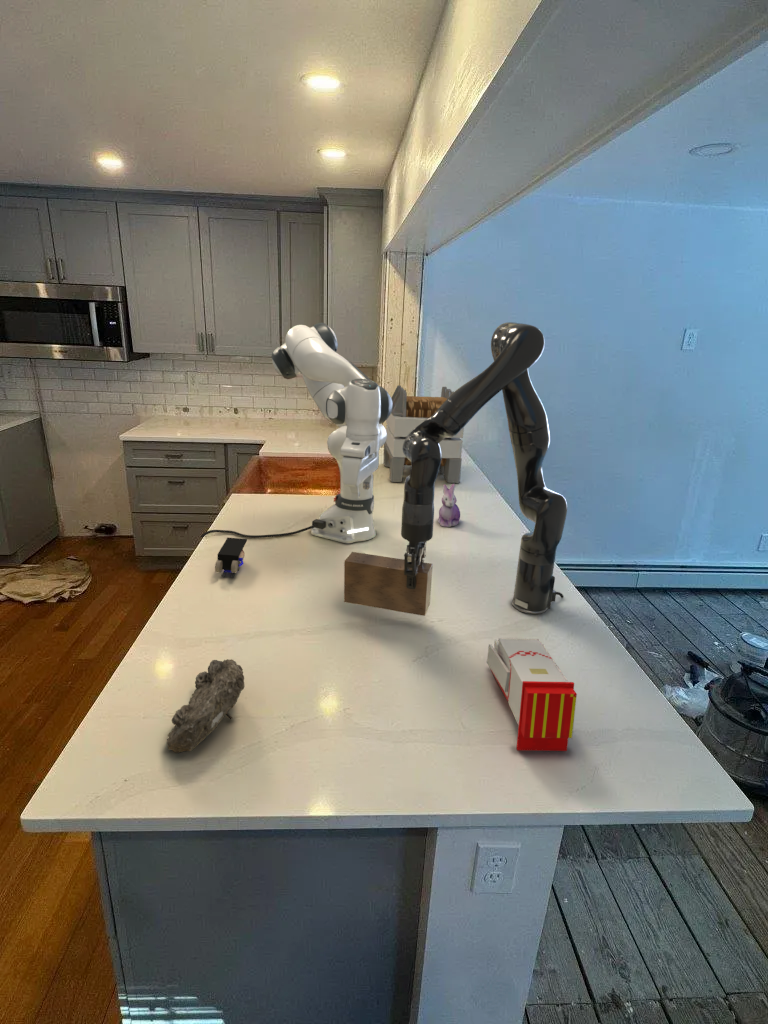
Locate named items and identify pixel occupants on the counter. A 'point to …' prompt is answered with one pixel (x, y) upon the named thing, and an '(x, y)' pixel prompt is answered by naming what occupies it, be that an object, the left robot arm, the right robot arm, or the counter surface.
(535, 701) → the toy
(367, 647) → the counter surface
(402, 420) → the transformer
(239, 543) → the black wheeled rover
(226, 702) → the fossil
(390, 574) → the box
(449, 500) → the figurine
